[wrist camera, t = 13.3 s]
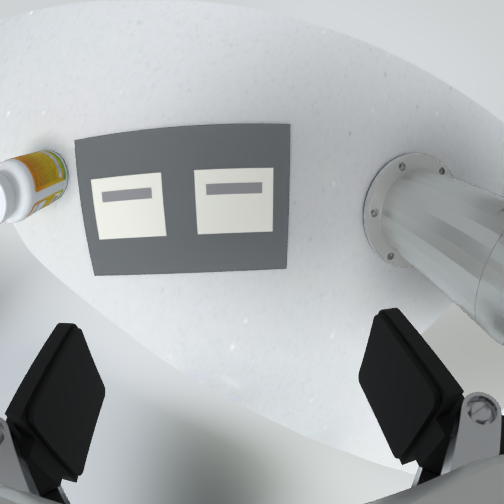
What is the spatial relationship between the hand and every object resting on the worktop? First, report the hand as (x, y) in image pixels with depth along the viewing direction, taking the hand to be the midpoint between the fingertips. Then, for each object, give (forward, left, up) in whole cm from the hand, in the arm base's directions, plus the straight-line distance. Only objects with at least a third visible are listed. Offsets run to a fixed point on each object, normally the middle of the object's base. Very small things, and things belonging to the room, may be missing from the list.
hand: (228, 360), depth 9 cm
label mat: (+4, 0, -20) cm, 21 cm away
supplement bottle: (+18, -4, -20) cm, 27 cm away
